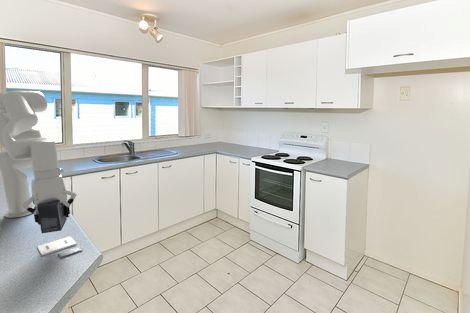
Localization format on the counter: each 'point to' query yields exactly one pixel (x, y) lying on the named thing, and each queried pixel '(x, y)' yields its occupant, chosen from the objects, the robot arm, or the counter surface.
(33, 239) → the counter surface
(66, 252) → the phone
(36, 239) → the counter surface
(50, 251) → the outlet plate
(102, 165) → the counter surface
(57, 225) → the small box
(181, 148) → the counter surface
